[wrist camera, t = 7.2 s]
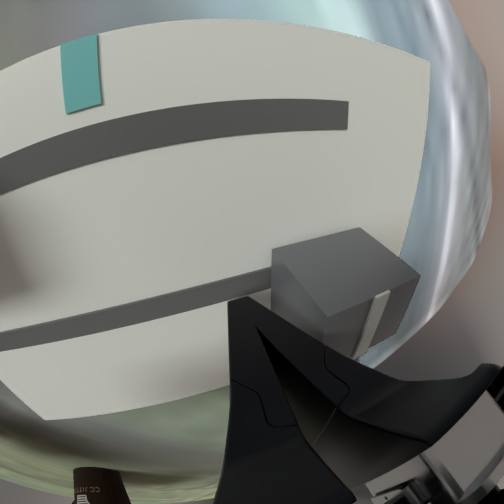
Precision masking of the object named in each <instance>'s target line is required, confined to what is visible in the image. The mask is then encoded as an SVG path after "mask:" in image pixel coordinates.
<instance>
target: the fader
mask: <svg viewBox="0 0 504 504" xmlns="http://www.w3.org/2000/svg"><path fill="white" fill-rule="evenodd" d="M420 276H421V275H420V274H418V273H417V272H416V271H415V270H414V269H412V268H411V267H410V266H409V265H408V264H406V263H405V262H404V261H403V260H401V259H400V258H399V257H398V256H396V255H395V254H394V253H393V252H391V251H390V250H389V249H388V248H386V247H385V246H384V245H382V244H381V243H380V242H379V241H377V240H376V239H375V238H373V237H372V236H371V235H369V234H368V233H367V232H365V231H364V230H363V229H361V228H360V227H358V228H354V229H350V230H346V231H342V232H338V233H334V234H330V235H326V236H322V237H318V238H314V239H310V240H306V241H302V242H298V243H294V244H290V245H286V246H282V247H278V248H274V249H272V263H271V311H272V312H274V313H276V314H277V315H279V316H280V317H282V318H283V319H285V320H287V321H288V322H290V323H291V324H293V325H294V326H296V327H298V328H299V329H301V330H302V331H304V332H306V333H307V334H309V335H311V336H312V337H314V338H315V339H317V340H319V341H320V342H322V343H324V344H325V346H326V345H327V346H329V347H330V348H332V349H334V350H335V351H337V352H339V353H341V354H342V355H344V356H346V357H348V358H350V357H352V358H353V359H355V358H357V357H359V356H361V355H363V354H365V353H366V351H367V349H368V348H370V347H372V346H374V345H375V344H377V343H379V342H381V341H383V340H385V339H386V338H388V337H390V336H392V335H393V334H395V333H396V331H397V329H398V327H399V325H400V323H401V321H402V318H403V316H404V314H405V312H406V310H407V307H408V305H409V303H410V300H411V298H412V296H413V293H414V291H415V288H416V286H417V284H418V281H419V278H420Z"/></svg>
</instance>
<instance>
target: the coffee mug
mask: <svg viewBox="0 0 504 504" xmlns="http://www.w3.org/2000/svg"><path fill="white" fill-rule="evenodd" d="M73 477H74V497H75V500H74V502H73V503H72V504H131V502H130V500H129V497H128V495H127V492H126V490H125V487H124V484H123V482H122V479H121V476H120V473H119V472H117V471H114V470H110V469H105V468H96V467H81V468H76V469H74V470H73Z"/></svg>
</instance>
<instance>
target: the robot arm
mask: <svg viewBox="0 0 504 504" xmlns="http://www.w3.org/2000/svg"><path fill="white" fill-rule="evenodd" d="M227 315H228V352H229V380H230V382H229V383H230V410H229V422H228V430H227V438H226V447H225V455H224V462H223V468H222V472H221V477H220V480H219V484H218V488H217V491H216V495H215V498H214V502H213V504H352V503H354V502H356V501H357V500H356V498H355V496H354V495H353V493H352V492H351V491H350V490H352V489H354V488H356V487H358V486H361V485H363V484H366V486H367V487H368V489H369V490H370V492H371V493H372V495H373V496H374V497H373V498H371V500H372V502H373V503H374V504H428V503H430V504H504V489H502V490H501V489H499V487H498V486H497V483H498V482H499V480H500V479H501V477H502V476H503V475H504V366H503V367H501V366H499V365H496V364H490V363H489V364H488V363H482V364H480V365H479V366H478V367H477V369H476V370H475V371H474V372H473V373H471V374H470V375H468V376H465V377H462V378H455V379H442V380H426V381H404V380H399V379H396V378H393V377H390V376H388V375H385V374H383V373H381V372H378V371H376V370H374V369H371V368H369V367H367V366H365V365H362V364H360V363H358V362H356V361H354V360H352V359H350V358H348V357H346V356H344V355H342V354H341V353H339V352H337V351H335V350H334V349H332V348H330V347H329V346H327V345H326V346H325V344H324V343H322V342H320V341H319V340H317V339H315V338H314V337H312V336H311V335H309V334H307V333H306V332H304V331H302V330H301V329H299V328H298V327H296V326H294V325H293V324H291V323H290V322H288V321H287V320H285V319H283V318H282V317H280V316H279V315H277V314H276V313H274V312H272V311H271V310H269V309H268V308H266V307H265V306H263V305H262V304H260V303H258V302H257V301H255V300H254V299H252V298H251V297H249V296H244V297H240V298H237V299H233V300H230V301H228V302H227Z"/></svg>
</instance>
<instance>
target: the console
mask: <svg viewBox="0 0 504 504" xmlns="http://www.w3.org/2000/svg"><path fill="white" fill-rule="evenodd" d="M429 88H430V62H429V61H426V60H424V59H422V58H419V57H417V56H414V55H412V54H409V53H407V52H404V51H401V50H399V49H396V48H393V47H390V46H387V45H384V44H381V43H378V42H375V41H371V40H368V39H364V38H361V37H357V36H353V35H349V34H345V33H341V32H337V31H332V30H327V29H322V28H317V27H311V26H305V25H299V24H292V23H284V22H275V21H264V20H248V19H196V20H180V21H170V22H161V23H153V24H146V25H139V26H134V27H128V28H123V29H118V30H113V31H109V32H105V33H100V34H93V35H89V36H86V37H82V38H79V39H76V40H72V41H69V42H66V43H63V44H60V46H57V47H54V48H52V49H49V50H46V51H44V52H41V53H39V54H36V55H34V56H31V57H29V58H27V59H24V60H22V61H20V62H18V63H16V64H14V65H12V66H10V67H7V68H5V69H4V70H2V71H0V380H1V381H2V382H3V383H4V384H5V385H6V386H7V387H8V388H9V389H10V390H11V391H12V392H13V393H14V394H15V395H16V396H18V397H19V398H20V399H21V400H22V401H23V402H24V403H25V404H26V405H27V406H29V407H30V408H31V409H32V410H33V411H34V412H36V413H37V414H38V415H39V416H40V417H42V418H43V419H44V420H56V419H67V418H77V417H86V416H94V415H101V414H108V413H114V412H120V411H126V410H131V409H137V408H142V407H147V406H151V405H156V404H161V403H165V402H169V401H173V400H178V399H182V398H186V397H189V396H193V395H197V394H201V393H204V392H208V391H211V390H215V389H218V388H221V387H225V386H228V385H230V383H229V382H230V380H229V352H228V315H227V302H228V301H230V300H233V299H237V298H240V297H244V296H249V297H251V298H252V299H254V300H255V301H257V302H258V303H260V304H262V305H263V306H265V307H266V308H268V309H269V310H271V263H272V249H274V248H278V247H282V246H286V245H290V244H294V243H298V242H302V241H306V240H310V239H314V238H318V237H322V236H326V235H330V234H334V233H338V232H342V231H346V230H350V229H354V228H358V227H360V228H361V229H363V230H364V231H365V232H367V233H368V234H369V235H371V236H372V237H373V238H375V239H376V240H377V241H379V242H380V243H381V244H382V245H384V246H385V247H386V248H388V249H389V250H390V251H391V252H393V253H394V254H395V255H396V256H398V257H399V256H400V252H401V249H402V246H403V242H404V238H405V235H406V231H407V227H408V223H409V219H410V215H411V211H412V207H413V202H414V198H415V193H416V188H417V183H418V178H419V173H420V167H421V161H422V155H423V148H424V141H425V134H426V125H427V115H428V104H429Z"/></svg>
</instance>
